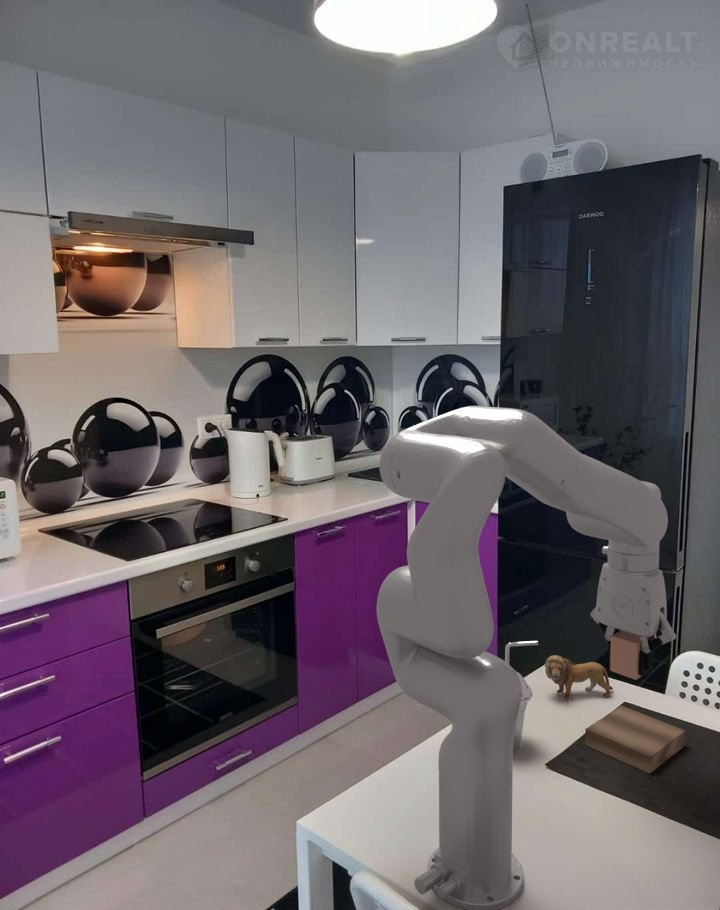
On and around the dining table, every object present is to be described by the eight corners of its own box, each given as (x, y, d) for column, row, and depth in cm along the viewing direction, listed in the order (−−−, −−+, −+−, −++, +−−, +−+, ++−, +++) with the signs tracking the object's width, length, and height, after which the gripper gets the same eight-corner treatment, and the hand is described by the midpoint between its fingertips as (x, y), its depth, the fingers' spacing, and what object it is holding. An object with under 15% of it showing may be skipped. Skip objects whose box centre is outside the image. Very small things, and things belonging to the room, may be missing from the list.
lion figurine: (551, 706, 144) (552, 662, 143) (539, 693, 149) (539, 651, 148) (619, 697, 147) (621, 654, 146) (605, 684, 152) (606, 643, 151)
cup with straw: (500, 727, 137) (501, 624, 134) (543, 745, 130) (545, 637, 127) (472, 745, 131) (473, 638, 128) (516, 765, 124) (517, 653, 121)
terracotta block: (635, 679, 117) (636, 644, 116) (610, 670, 121) (610, 635, 120) (650, 670, 120) (651, 635, 119) (624, 661, 123) (625, 627, 122)
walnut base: (649, 773, 121) (650, 756, 121) (585, 744, 130) (585, 728, 130) (684, 746, 129) (685, 730, 129) (621, 720, 138) (621, 705, 138)
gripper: (573, 553, 121) (571, 658, 124) (673, 577, 108) (668, 693, 111) (598, 543, 126) (596, 645, 129) (697, 565, 113) (692, 677, 116)
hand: (630, 666), depth 120 cm, fingers closed on terracotta block, 4 cm apart
